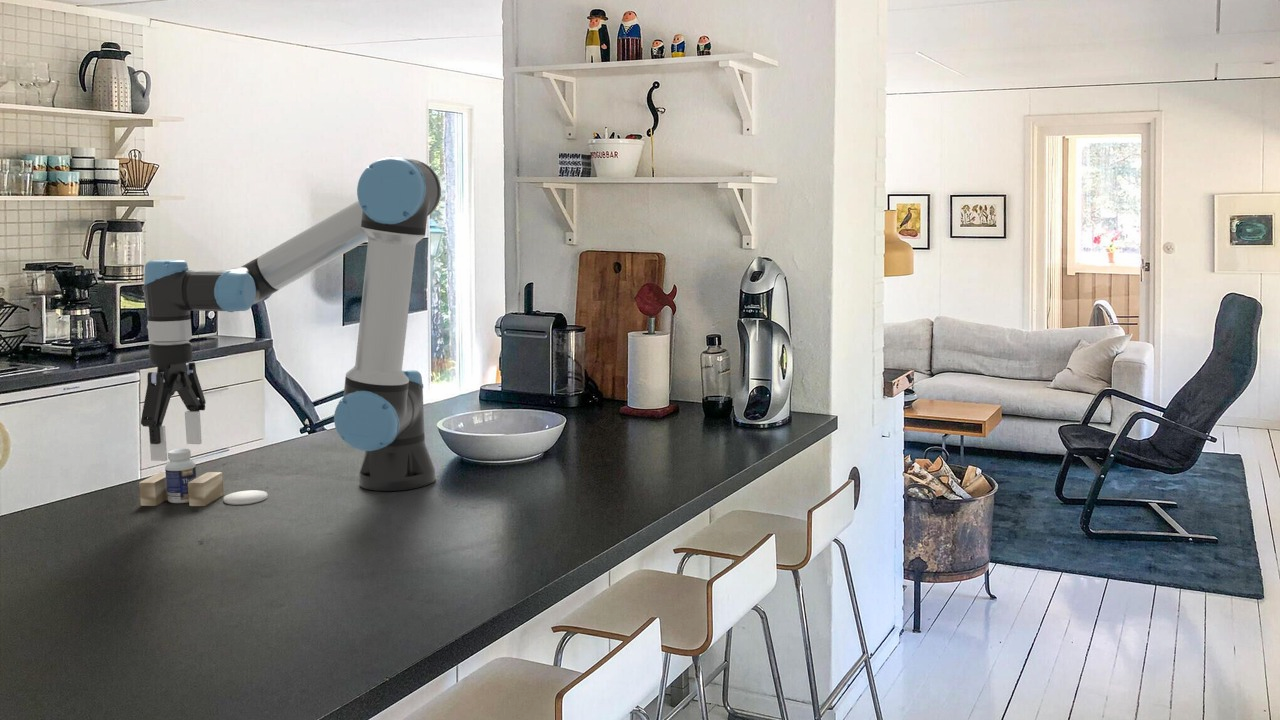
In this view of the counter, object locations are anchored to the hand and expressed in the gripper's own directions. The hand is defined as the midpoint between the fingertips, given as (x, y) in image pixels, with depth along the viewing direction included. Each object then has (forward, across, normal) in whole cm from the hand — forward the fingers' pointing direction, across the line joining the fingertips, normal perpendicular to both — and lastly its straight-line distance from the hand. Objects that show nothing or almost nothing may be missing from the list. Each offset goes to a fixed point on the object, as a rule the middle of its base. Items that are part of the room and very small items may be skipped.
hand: (177, 452), depth 206 cm
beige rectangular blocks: (+10, 0, +1) cm, 10 cm away
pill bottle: (+10, 0, +1) cm, 10 cm away
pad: (+9, -1, +13) cm, 16 cm away
